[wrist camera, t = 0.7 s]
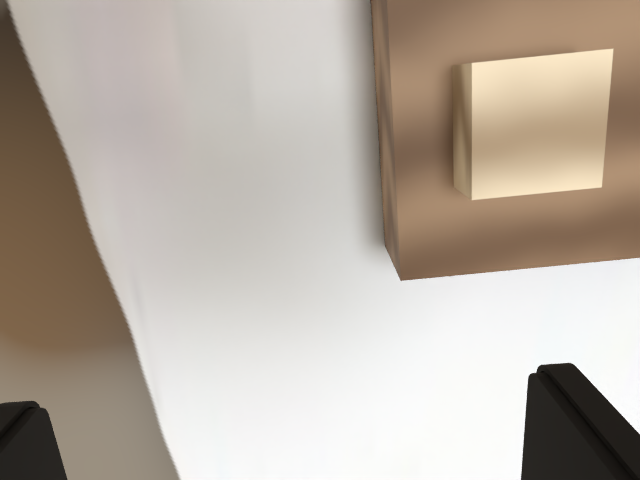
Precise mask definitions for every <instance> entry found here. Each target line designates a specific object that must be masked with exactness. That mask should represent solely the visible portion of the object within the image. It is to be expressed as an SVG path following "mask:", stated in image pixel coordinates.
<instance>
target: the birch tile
mask: <svg viewBox="0 0 640 480" xmlns="http://www.w3.org/2000/svg"><path fill="white" fill-rule="evenodd" d="M612 60H613V49H604V50H594V51H585V52H575V53H565V54H555V55H546V56H536V57H526V58H516V59H506V60H497V61H487V62H477V63H468V64H460V65H452V81H453V165H454V188H456V189H457V190H459V191H460V192H461V193H463V194H464V195H465V196H467V197H468V198H470V199H471V200H479V199H489V198H499V197H509V196H519V195H530V194H540V193H550V192H560V191H570V190H580V189H591V188H601V187H602V179H603V167H604V155H605V143H606V131H607V119H608V108H609V96H610V84H611V72H612Z"/></svg>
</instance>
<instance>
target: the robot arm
mask: <svg viewBox="0 0 640 480" xmlns="http://www.w3.org/2000/svg"><path fill="white" fill-rule="evenodd" d="M0 480H67V477H66V473H65V470H64V466H63V463H62V459H61V456H60V452H59V449H58V445H57V442H56V438H55V435H54V431H53V428H52V424H51V421H50V417H49V414H48V412H47V410H46V409H44V408H40V406H39V404H37V403H36V402H35V401H22V402H8V403H2V404H0ZM521 480H640V434H639V433H638V432H637V431H636V430H635V429H634V428H633V427H632V426H631V425H630V424H629V423H628V421H627V420H626V419H625V418H624V417H623V416H622V415H621V414H620V413H619V412H618V411H617V410H616V409H615V408H614V407H613V406H612V404H611V403H610V402H609V401H608V400H607V399H606V398H605V397H604V396H603V395H602V394H601V393H600V392H599V391H598V390H597V388H596V387H595V386H594V385H593V384H592V383H591V382H590V381H589V380H588V379H587V378H586V377H585V376H584V375H583V374H582V372H581V371H580V370H579V369H578V368H577V367H576V366H575V365H573V364H572V363H561V364H547V365H540V366H539V367H538V369H537V372H536V373H532V374H530V375H529V378H528V389H527V403H526V417H525V431H524V445H523V460H522V474H521Z"/></svg>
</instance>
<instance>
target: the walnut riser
mask: <svg viewBox="0 0 640 480" xmlns="http://www.w3.org/2000/svg"><path fill="white" fill-rule="evenodd" d="M371 14H372V31H373V48H374V65H375V82H376V99H377V116H378V133H379V150H380V168H381V185H382V202H383V219H384V236H385V247H386V249H387V251H388V254H389V256H390V258H391V260H392V262H393V265H394V267H395V269H396V271H397V273H398V276H399V278H400V280H401V281H402V280H413V279H423V278H434V277H444V276H454V275H465V274H475V273H485V272H496V271H506V270H517V269H527V268H537V267H548V266H558V265H569V264H579V263H589V262H600V261H610V260H620V259H631V258H640V0H371ZM604 49H613V60H612V72H611V84H610V96H609V108H608V119H607V131H606V143H605V155H604V167H603V179H602V187H601V188H591V189H580V190H570V191H560V192H550V193H540V194H530V195H519V196H509V197H499V198H489V199H479V200H471V199H470V198H468V197H467V196H465V195H464V194H463V193H461V192H460V191H459V190H457V189H456V188H454V165H453V81H452V65H460V64H468V63H477V62H487V61H497V60H506V59H516V58H526V57H536V56H546V55H555V54H565V53H575V52H585V51H594V50H604Z"/></svg>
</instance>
